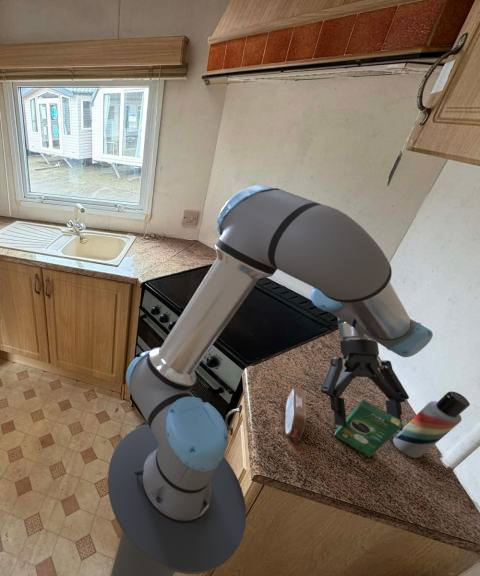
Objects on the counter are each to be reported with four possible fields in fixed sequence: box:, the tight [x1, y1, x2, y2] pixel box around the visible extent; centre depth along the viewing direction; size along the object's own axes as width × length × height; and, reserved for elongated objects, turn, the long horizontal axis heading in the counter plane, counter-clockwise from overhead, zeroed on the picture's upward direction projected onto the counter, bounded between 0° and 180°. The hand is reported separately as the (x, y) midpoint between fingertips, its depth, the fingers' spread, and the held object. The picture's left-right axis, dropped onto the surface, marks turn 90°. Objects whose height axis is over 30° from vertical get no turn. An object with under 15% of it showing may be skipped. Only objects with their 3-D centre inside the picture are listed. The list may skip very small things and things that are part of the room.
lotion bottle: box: [392, 391, 471, 459], centre depth 74 cm, size 6×6×20 cm
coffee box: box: [333, 399, 403, 458], centre depth 76 cm, size 8×3×13 cm, turn 44°
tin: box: [284, 387, 307, 442], centre depth 81 cm, size 15×3×8 cm, turn 151°
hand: (368, 427), depth 75 cm, fingers open, 13 cm apart
